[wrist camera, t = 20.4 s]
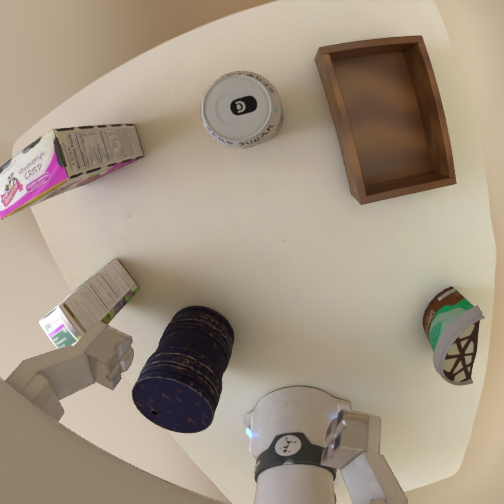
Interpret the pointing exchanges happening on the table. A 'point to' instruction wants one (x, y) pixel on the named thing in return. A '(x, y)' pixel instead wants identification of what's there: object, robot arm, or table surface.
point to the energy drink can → (241, 110)
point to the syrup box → (89, 305)
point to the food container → (453, 335)
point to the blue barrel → (186, 371)
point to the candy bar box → (65, 163)
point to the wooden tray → (387, 116)
